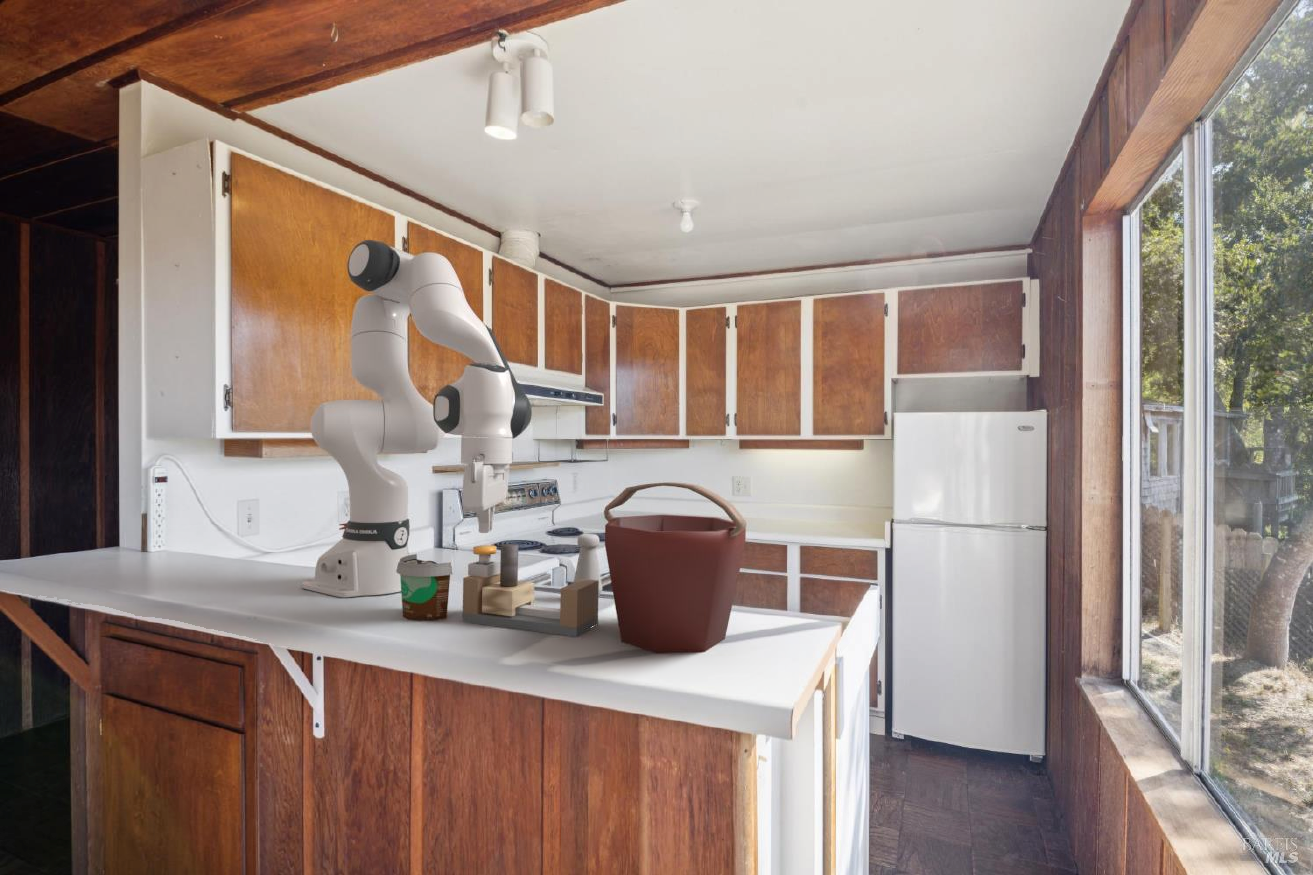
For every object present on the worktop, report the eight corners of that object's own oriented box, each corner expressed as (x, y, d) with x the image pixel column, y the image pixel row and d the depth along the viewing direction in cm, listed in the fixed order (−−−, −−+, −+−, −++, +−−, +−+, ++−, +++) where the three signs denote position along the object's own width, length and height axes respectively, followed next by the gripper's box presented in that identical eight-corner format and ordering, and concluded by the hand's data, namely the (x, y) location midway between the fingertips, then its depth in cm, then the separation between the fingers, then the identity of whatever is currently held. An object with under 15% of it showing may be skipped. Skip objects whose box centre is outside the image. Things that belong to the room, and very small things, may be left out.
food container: (382, 613, 116) (383, 557, 116) (413, 607, 121) (414, 553, 121) (418, 627, 108) (420, 567, 108) (451, 620, 113) (452, 562, 113)
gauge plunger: (468, 565, 114) (468, 548, 114) (481, 561, 118) (482, 544, 118) (487, 567, 113) (487, 549, 113) (500, 563, 117) (501, 546, 117)
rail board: (460, 620, 112) (461, 565, 112) (487, 609, 120) (488, 558, 120) (576, 636, 105) (577, 577, 105) (597, 624, 112) (598, 568, 112)
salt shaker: (597, 604, 125) (598, 537, 125) (568, 602, 126) (569, 535, 126) (605, 597, 131) (606, 533, 131) (578, 595, 132) (579, 531, 132)
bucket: (572, 633, 106) (574, 481, 106) (662, 609, 123) (664, 476, 123) (686, 672, 90) (690, 491, 90) (773, 637, 106) (776, 484, 106)
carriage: (481, 612, 111) (483, 547, 111) (505, 602, 118) (506, 541, 118) (511, 616, 109) (513, 549, 109) (533, 606, 116) (535, 543, 116)
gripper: (492, 455, 105) (491, 540, 105) (514, 453, 126) (513, 524, 126) (453, 454, 105) (451, 540, 105) (481, 452, 125) (480, 524, 125)
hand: (485, 531), depth 115 cm, fingers closed
